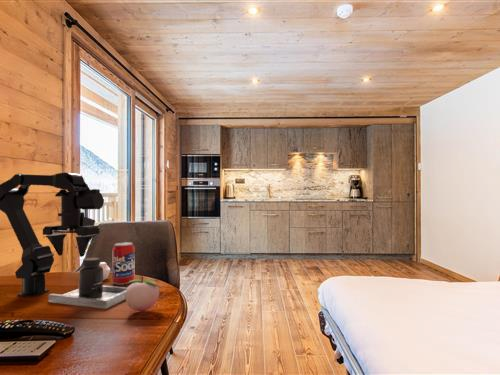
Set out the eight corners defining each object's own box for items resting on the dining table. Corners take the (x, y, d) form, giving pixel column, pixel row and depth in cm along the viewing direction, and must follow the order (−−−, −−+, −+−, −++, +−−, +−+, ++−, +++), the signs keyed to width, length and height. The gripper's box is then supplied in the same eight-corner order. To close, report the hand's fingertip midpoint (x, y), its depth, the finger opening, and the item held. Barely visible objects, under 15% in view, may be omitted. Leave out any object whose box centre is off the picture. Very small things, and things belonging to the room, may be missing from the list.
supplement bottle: (99, 299, 92) (99, 260, 92) (75, 300, 90) (75, 261, 90) (105, 292, 98) (105, 256, 99) (83, 293, 97) (83, 257, 97)
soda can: (127, 278, 117) (127, 241, 117) (138, 282, 112) (138, 243, 113) (108, 283, 111) (108, 244, 111) (119, 287, 106) (119, 245, 106)
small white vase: (111, 280, 116) (111, 262, 116) (93, 282, 112) (93, 264, 113) (109, 276, 121) (109, 259, 121) (92, 278, 118) (92, 261, 118)
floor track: (48, 302, 92) (48, 294, 92) (81, 289, 103) (81, 283, 104) (106, 308, 86) (106, 300, 86) (134, 294, 97) (134, 288, 98)
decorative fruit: (118, 318, 78) (118, 281, 79) (131, 307, 87) (131, 273, 87) (153, 318, 78) (153, 281, 79) (162, 306, 87) (162, 273, 87)
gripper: (111, 208, 104) (111, 252, 104) (70, 208, 109) (70, 250, 109) (85, 210, 94) (85, 258, 93) (41, 210, 99) (41, 256, 98)
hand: (71, 255), depth 99 cm, fingers open, 9 cm apart
